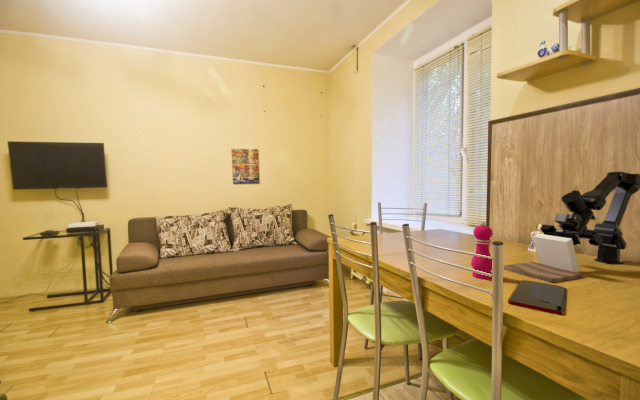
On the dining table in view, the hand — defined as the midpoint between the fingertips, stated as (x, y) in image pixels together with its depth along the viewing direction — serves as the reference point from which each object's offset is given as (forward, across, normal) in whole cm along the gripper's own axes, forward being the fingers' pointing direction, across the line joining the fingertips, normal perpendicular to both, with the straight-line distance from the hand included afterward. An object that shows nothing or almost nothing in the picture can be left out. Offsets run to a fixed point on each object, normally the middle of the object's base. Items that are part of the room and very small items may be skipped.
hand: (558, 250), depth 113 cm
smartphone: (+29, +15, -17) cm, 37 cm away
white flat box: (+4, 0, +5) cm, 7 cm away
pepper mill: (+28, -4, -17) cm, 34 cm away
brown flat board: (+12, 0, -1) cm, 12 cm away
